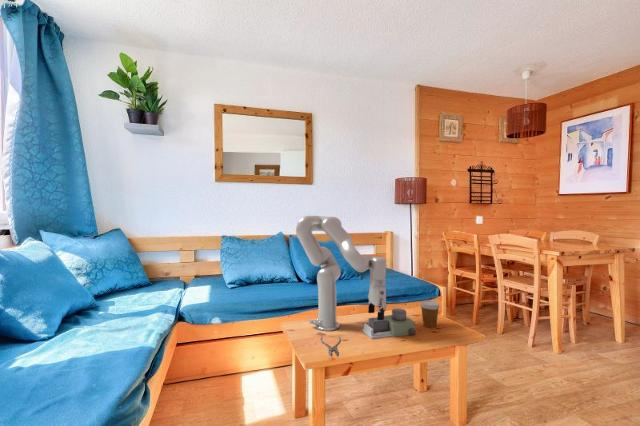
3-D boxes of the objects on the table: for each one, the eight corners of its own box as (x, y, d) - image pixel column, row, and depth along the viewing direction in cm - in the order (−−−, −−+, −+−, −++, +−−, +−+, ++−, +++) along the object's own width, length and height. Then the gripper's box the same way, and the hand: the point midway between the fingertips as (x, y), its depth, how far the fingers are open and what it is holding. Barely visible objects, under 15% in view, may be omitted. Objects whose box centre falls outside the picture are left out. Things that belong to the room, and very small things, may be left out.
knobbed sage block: (373, 340, 139) (373, 319, 139) (360, 329, 153) (360, 309, 153) (416, 334, 146) (416, 314, 146) (400, 324, 159) (400, 305, 159)
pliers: (338, 334, 145) (352, 352, 126) (338, 336, 145) (352, 354, 126) (318, 336, 143) (330, 355, 124) (318, 338, 143) (330, 357, 124)
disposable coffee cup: (442, 329, 153) (442, 305, 153) (423, 329, 153) (423, 305, 153) (435, 322, 162) (435, 300, 162) (417, 322, 162) (417, 300, 162)
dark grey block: (373, 334, 144) (373, 321, 144) (368, 330, 149) (368, 318, 149) (388, 332, 146) (387, 320, 146) (383, 328, 151) (383, 316, 151)
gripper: (393, 286, 141) (391, 322, 141) (376, 277, 157) (374, 309, 157) (379, 287, 138) (377, 323, 139) (363, 278, 155) (361, 310, 155)
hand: (375, 316), depth 148 cm, fingers open, 9 cm apart
